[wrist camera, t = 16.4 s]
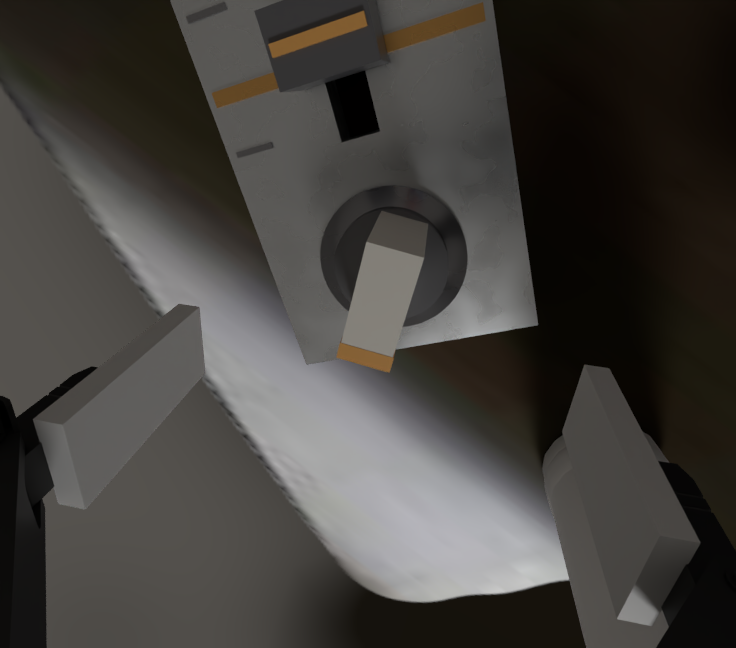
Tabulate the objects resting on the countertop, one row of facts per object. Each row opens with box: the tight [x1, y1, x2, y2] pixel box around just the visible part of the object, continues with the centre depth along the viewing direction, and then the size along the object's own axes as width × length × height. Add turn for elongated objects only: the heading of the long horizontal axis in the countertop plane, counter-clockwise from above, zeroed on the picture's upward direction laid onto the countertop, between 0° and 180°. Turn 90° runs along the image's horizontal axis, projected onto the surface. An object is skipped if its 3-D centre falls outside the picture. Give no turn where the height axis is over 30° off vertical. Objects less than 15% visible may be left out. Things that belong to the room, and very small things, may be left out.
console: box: [170, 0, 538, 364], centre depth 24 cm, size 14×28×3 cm, turn 15°
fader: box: [254, 0, 389, 92], centre depth 22 cm, size 4×3×6 cm
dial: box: [334, 206, 449, 372], centre depth 23 cm, size 6×6×6 cm
